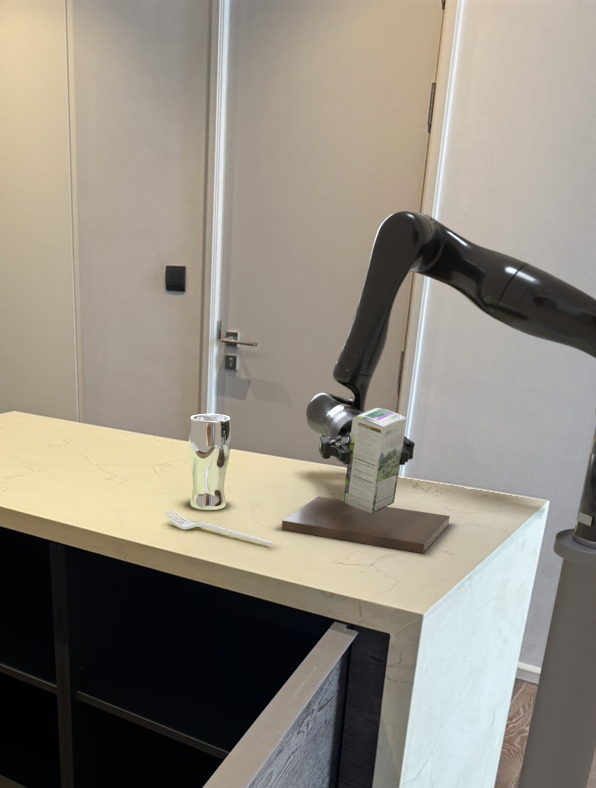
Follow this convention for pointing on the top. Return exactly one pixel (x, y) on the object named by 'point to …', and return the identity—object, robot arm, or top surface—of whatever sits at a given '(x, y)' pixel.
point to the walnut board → (368, 524)
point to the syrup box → (374, 459)
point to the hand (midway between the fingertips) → (375, 458)
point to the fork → (211, 528)
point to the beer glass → (209, 459)
